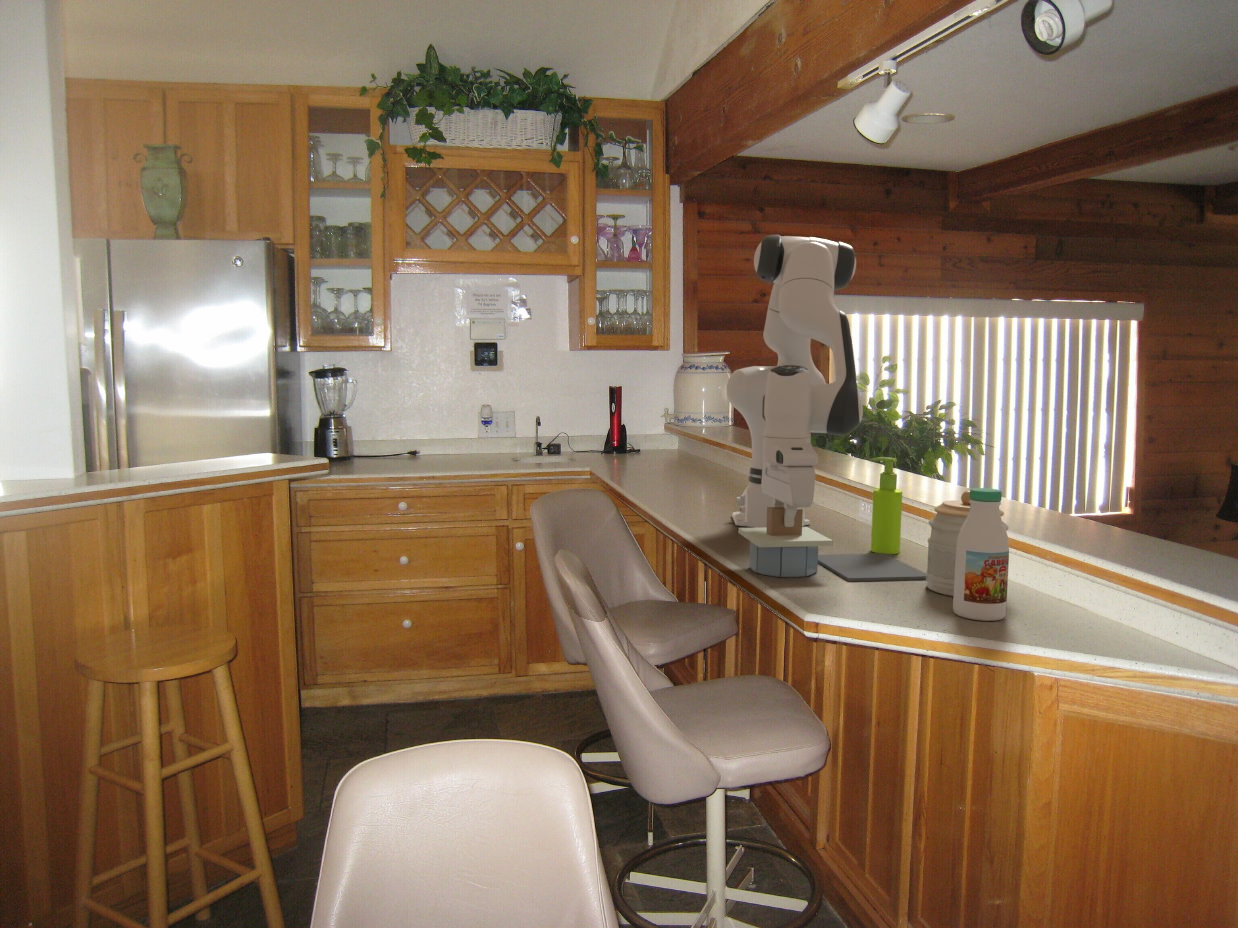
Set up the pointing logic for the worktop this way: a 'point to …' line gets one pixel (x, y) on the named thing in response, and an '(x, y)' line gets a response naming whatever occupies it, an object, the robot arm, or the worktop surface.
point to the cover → (784, 532)
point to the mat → (869, 567)
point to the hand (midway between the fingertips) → (784, 524)
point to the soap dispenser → (886, 511)
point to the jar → (946, 543)
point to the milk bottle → (982, 560)
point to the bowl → (784, 560)
